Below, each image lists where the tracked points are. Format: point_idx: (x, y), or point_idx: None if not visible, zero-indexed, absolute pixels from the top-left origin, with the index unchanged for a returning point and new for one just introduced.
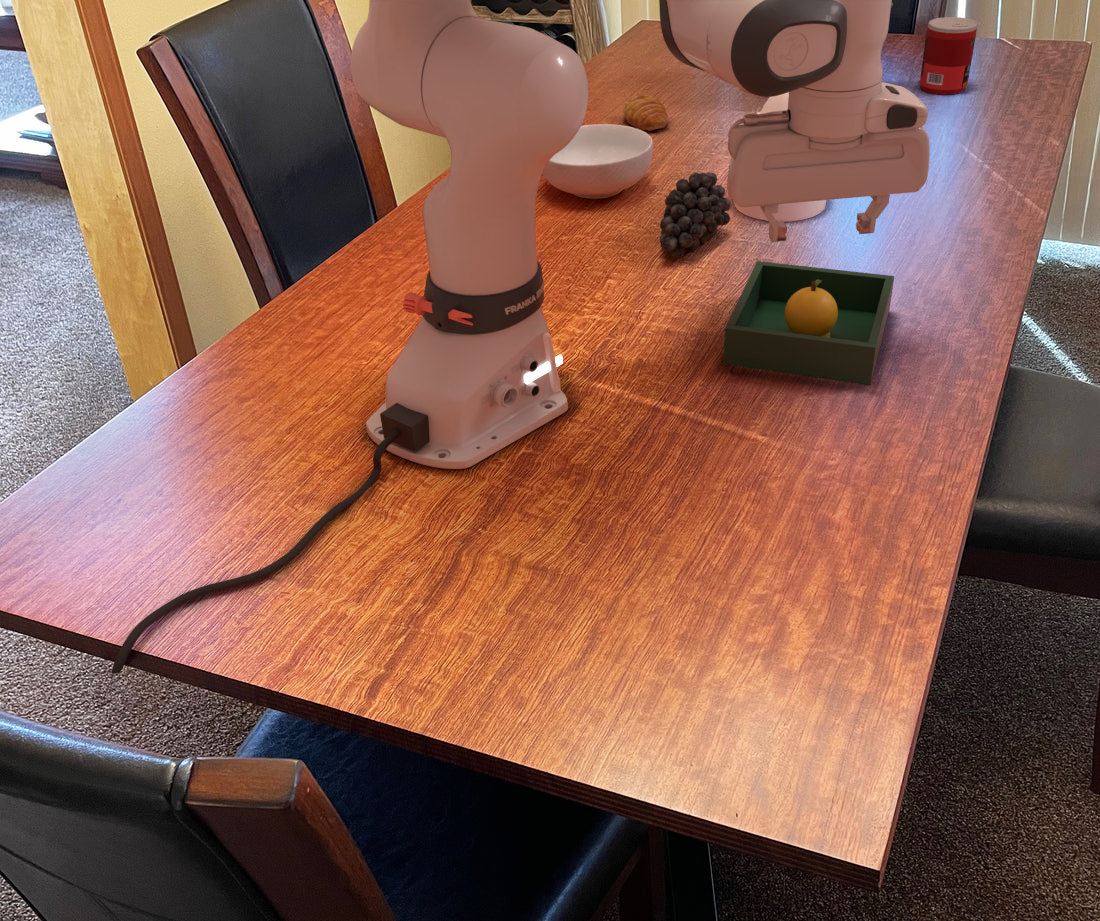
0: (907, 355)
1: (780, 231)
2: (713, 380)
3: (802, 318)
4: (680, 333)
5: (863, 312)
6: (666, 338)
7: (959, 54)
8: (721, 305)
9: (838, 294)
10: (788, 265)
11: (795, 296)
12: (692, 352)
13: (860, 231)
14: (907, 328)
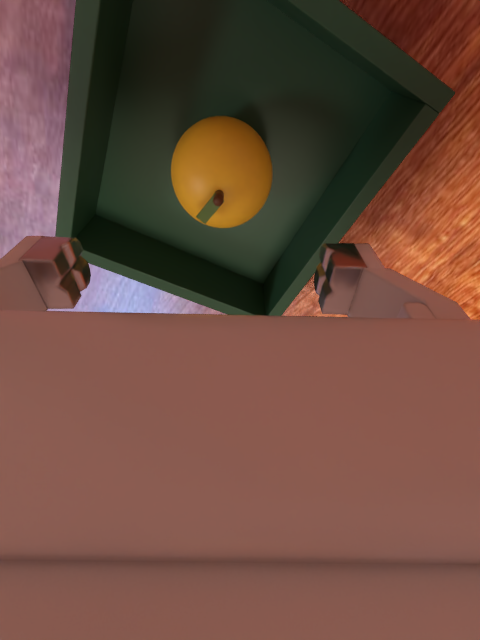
0: (50, 66)
1: (354, 258)
2: (448, 38)
3: (252, 134)
4: (403, 227)
5: (122, 222)
6: (431, 217)
7: None
8: (312, 286)
9: (157, 253)
10: (227, 311)
11: (255, 193)
12: (421, 164)
13: (74, 244)
14: (54, 173)
